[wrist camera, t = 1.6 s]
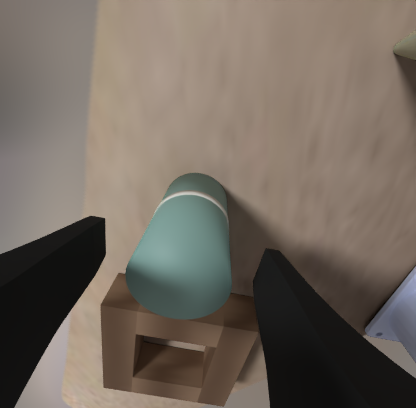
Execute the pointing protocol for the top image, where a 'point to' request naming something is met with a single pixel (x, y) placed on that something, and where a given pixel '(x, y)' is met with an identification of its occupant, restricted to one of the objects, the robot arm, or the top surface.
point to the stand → (175, 357)
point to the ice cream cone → (407, 46)
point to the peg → (184, 252)
